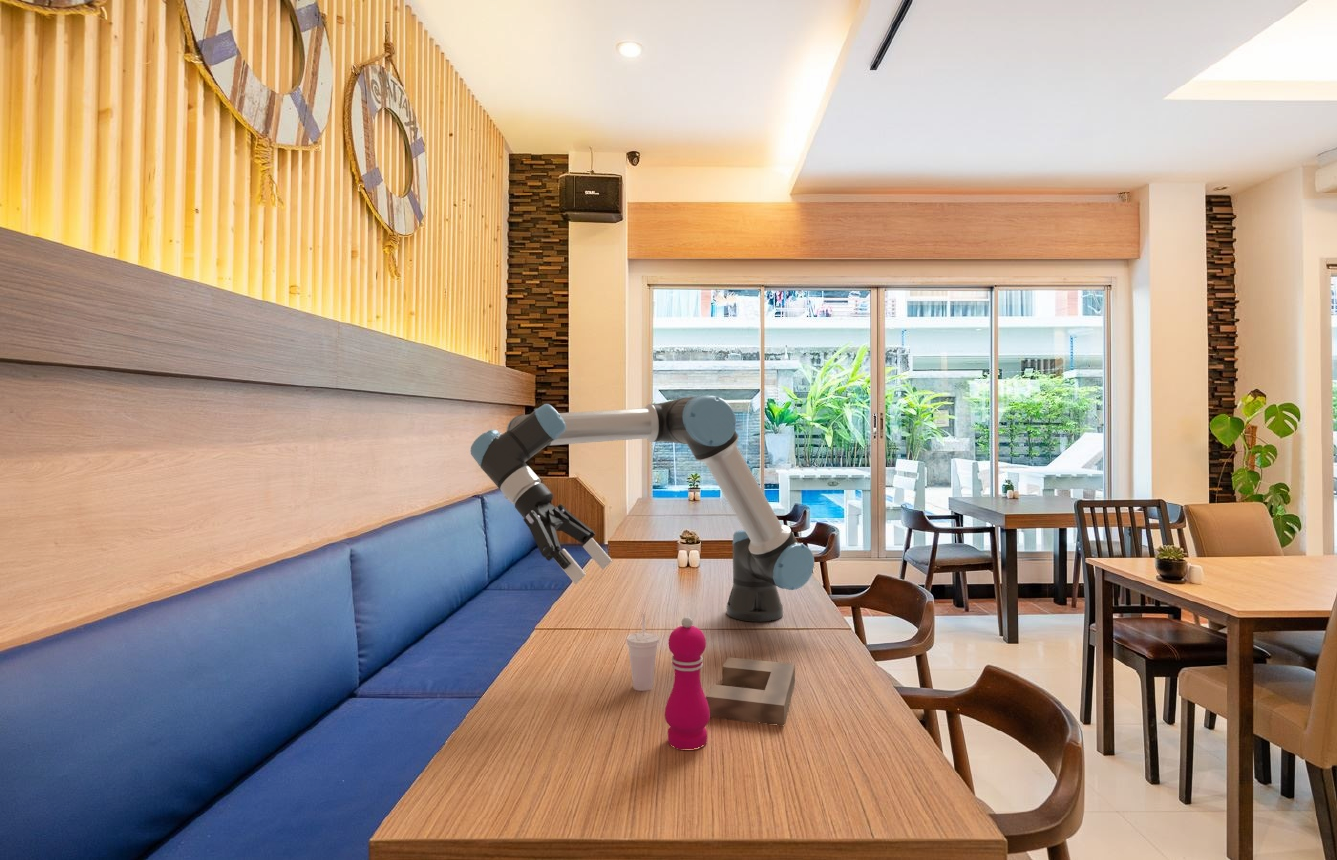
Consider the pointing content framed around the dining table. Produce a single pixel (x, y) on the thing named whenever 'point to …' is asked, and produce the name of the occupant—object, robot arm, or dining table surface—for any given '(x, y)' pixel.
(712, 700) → the notched board
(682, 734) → the pepper mill
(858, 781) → the dining table surface
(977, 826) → the dining table surface
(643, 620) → the smoothie
